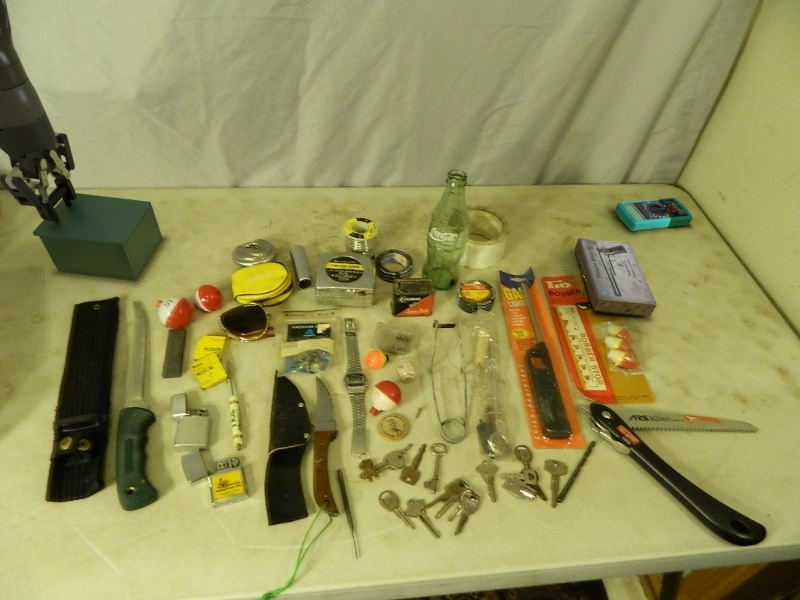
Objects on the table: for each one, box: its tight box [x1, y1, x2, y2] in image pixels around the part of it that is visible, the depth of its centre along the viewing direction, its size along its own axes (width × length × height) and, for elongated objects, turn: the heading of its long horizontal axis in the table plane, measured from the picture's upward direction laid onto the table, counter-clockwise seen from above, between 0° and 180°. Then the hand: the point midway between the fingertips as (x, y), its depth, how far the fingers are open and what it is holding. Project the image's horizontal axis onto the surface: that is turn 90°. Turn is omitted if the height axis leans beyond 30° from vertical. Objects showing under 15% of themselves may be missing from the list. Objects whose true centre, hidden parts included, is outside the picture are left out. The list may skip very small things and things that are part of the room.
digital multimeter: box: [614, 197, 694, 232], centre depth 112 cm, size 7×15×3 cm, turn 103°
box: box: [574, 237, 658, 318], centre depth 97 cm, size 11×17×3 cm, turn 178°
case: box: [38, 204, 164, 282], centre depth 91 cm, size 14×11×8 cm
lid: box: [32, 184, 152, 246], centre depth 86 cm, size 14×11×5 cm
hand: (60, 208), depth 87 cm, fingers closed on lid, 5 cm apart
